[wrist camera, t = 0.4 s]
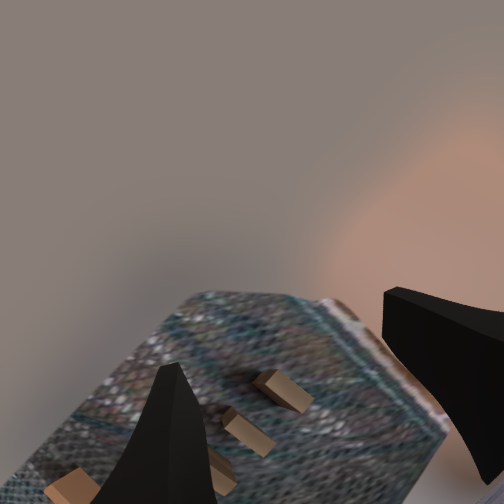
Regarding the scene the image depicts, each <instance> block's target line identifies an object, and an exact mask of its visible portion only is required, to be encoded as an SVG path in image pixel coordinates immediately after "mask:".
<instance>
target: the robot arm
mask: <svg viewBox="0 0 504 504" xmlns="http://www.w3.org/2000/svg"><path fill="white" fill-rule="evenodd" d="M382 338H383V339H384V341H385V342H386V343H387V345H388V347H389V348H390V349H391V351H392V352H393V353H394V355H395V356H396V357H397V358H398V359H399V361H400V362H401V363H402V364H403V365H404V366H405V367H406V368H407V369H408V370H409V371H410V372H411V373H412V374H413V375H414V376H415V377H416V378H417V379H418V380H419V381H420V382H421V384H422V385H423V386H424V387H425V388H426V389H427V390H428V391H429V392H430V393H431V394H432V395H433V396H434V397H435V399H436V400H437V401H438V402H439V404H440V405H441V406H442V408H443V409H444V411H445V412H446V413H447V415H448V416H449V418H450V419H451V421H452V422H453V424H454V425H455V427H456V428H457V430H458V432H459V433H460V435H461V436H462V438H463V440H464V442H465V444H466V446H467V448H468V449H469V451H470V453H471V455H472V457H473V459H474V462H475V464H476V466H477V468H478V471H479V474H480V476H481V479H482V480H483V481H484V482H485V484H486V485H489V484H490V483H491V482H492V481H493V480H494V479H495V478H496V477H497V476H498V475H499V474H500V473H501V472H502V471H503V470H504V312H498V311H491V310H485V309H480V308H475V307H471V306H467V305H463V304H459V303H455V302H452V301H448V300H445V299H441V298H438V297H434V296H431V295H427V294H424V293H421V292H417V291H413V290H410V289H405V288H401V287H395V288H393V289H390V290H388V291H385V292H384V301H383V324H382ZM503 501H504V478H503V479H502V480H501V481H500V482H499V483H498V484H497V485H496V486H495V487H494V488H493V489H492V490H491V491H490V492H489V493H488V494H487V495H485V496H484V497H483V498H482V499H481V500H480V501H479V502H478V503H476V504H501V503H502V502H503ZM89 504H217V500H216V497H215V492H214V488H213V482H212V476H211V469H210V462H209V455H208V447H207V440H206V433H205V427H204V423H203V419H202V415H201V411H200V407H199V403H198V401H197V399H196V397H195V395H194V393H193V391H192V389H191V387H190V385H189V383H188V381H187V379H186V377H185V375H184V373H183V371H182V369H181V367H180V364H179V362H176V363H172V364H168V365H164V366H160V368H159V369H158V372H157V375H156V377H155V380H154V383H153V386H152V388H151V391H150V394H149V396H148V399H147V402H146V404H145V406H144V409H143V411H142V414H141V416H140V419H139V421H138V423H137V425H136V428H135V430H134V432H133V434H132V436H131V438H130V440H129V442H128V444H127V446H126V448H125V450H124V452H123V454H122V456H121V458H120V459H119V461H118V463H117V465H116V466H115V468H114V470H113V471H112V473H111V474H110V476H109V477H108V479H107V480H106V482H105V483H104V485H103V486H102V488H101V489H100V491H99V492H98V493H97V495H96V496H95V497H94V499H93V500H92V501H91V502H90V503H89Z"/></svg>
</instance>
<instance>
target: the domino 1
mask: <svg viewBox="0 0 504 504" xmlns="http://www.w3.org/2000/svg"><path fill="white" fill-rule="evenodd" d="M100 489H101V487H100V486H99V485H98V484H97V483H96V482H95V481H93V480H92V479H91V478H90V477H89V476H88V475H87V474H86V473H85V472H84V471H83V470H82V469H81V468H80V467H79V468H77V469H76V470H74V471H72V472H71V473H69V474H67V475H66V476H64V477H62V478H60V479H59V480H57V481H55V482H54V483H52V484H50V485H49V486H48V487H47V488H46V489H45V490H44V491H43V492H44V493H45V494H46V495H47V496H48V497H49V498H50V499H51V500H52V501H53V502H54V503H55V504H89V503H90V502H91V501H92V500H93V499H94V497H95V496H96V495H97V493H98V492H99V491H100Z"/></svg>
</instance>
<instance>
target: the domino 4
mask: <svg viewBox="0 0 504 504" xmlns="http://www.w3.org/2000/svg"><path fill="white" fill-rule="evenodd" d="M252 384H254V385H255V386H256V387H257V388H258V389H260V390H261V391H262V392H263V393H265V394H266V395H267V396H268V397H270V398H271V399H272V400H273V401H275V402H276V403H277V404H278V405H280V406H281V407H284V408H287V409H290V410H293V411H296V412H299V413H303V412H304V411H305V410H306V409H307V407H308V406H309V405H310V404H311V402H312V401H313V400H314V398H313V397H312V396H311V395H309V394H308V393H307V392H305V391H304V390H303V389H302V388H300V387H299V386H298V385H297V384H295V383H294V382H293V381H292V380H290V379H289V378H288V377H287V376H285V375H284V374H283V373H282V372H281V371H279V370H278V369H277V370H270V371H263V372H261V373H260V374H259V376H258V377H257V378H256V379H255V380H254V381H253V382H252Z"/></svg>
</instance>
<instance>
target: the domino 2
mask: <svg viewBox="0 0 504 504" xmlns="http://www.w3.org/2000/svg"><path fill="white" fill-rule="evenodd" d="M207 447H208V455H209V462H210V469H211V476H212V482H213V488H214V490H215V491H217V492H218V493H220V494H221V495H223V496H225V495H226V494H227V493H228V492H230V491H231V490H232V489H233V488H234V487H235V486H236V485H237V482H236V478H235V475H234V472H233V469H232V466H231V463H230V461H228V460H227V459H226V458H224V457H223V456H222V455H220V454H219V453H218V452H216V451H215V450H214V449H212V448H211V447H210V446H209V445H207Z"/></svg>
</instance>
